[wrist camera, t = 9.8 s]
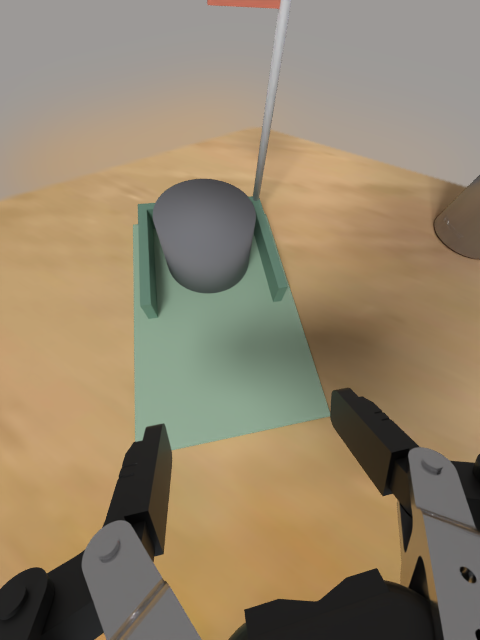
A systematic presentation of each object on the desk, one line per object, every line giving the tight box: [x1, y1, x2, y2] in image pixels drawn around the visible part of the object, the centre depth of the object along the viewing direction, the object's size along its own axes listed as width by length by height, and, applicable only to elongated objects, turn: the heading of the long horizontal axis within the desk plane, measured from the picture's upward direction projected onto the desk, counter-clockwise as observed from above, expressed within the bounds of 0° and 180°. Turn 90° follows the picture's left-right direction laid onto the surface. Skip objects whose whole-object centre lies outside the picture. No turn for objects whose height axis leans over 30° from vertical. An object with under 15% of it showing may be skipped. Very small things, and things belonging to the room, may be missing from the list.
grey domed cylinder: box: [153, 179, 256, 293], centre depth 27 cm, size 10×10×7 cm
